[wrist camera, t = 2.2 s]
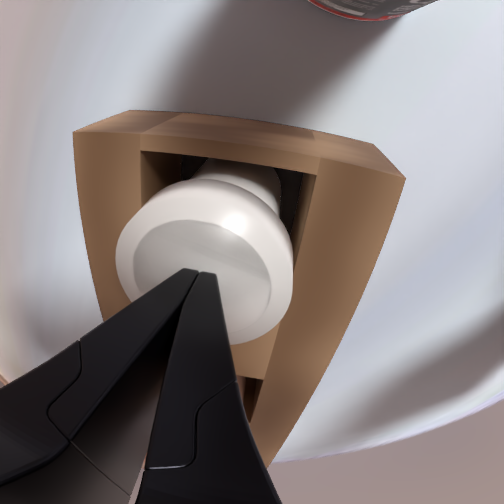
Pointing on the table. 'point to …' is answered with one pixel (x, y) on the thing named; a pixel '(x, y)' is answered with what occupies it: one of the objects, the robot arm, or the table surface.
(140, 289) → the grey plug
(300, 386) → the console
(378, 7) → the pill bottle
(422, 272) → the table surface
